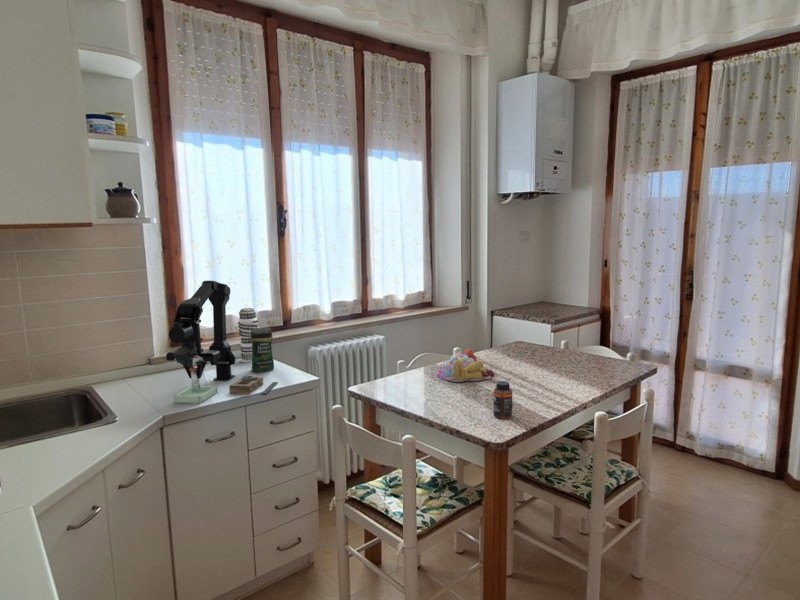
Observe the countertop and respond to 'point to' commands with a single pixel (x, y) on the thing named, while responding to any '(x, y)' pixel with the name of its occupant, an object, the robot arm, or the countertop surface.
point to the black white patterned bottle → (246, 332)
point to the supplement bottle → (502, 400)
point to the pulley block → (246, 384)
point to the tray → (196, 395)
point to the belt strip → (269, 388)
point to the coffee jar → (262, 350)
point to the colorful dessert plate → (464, 368)
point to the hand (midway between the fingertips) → (195, 378)
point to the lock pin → (194, 379)
